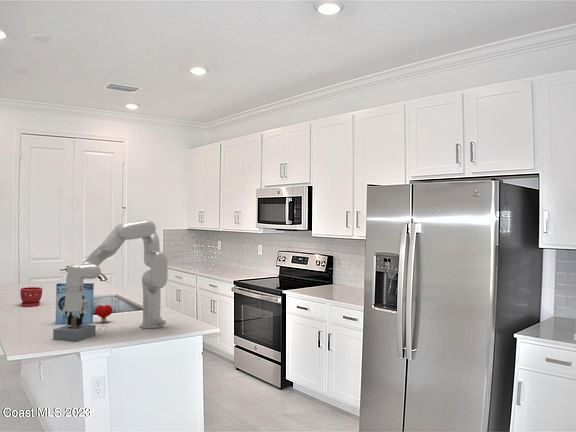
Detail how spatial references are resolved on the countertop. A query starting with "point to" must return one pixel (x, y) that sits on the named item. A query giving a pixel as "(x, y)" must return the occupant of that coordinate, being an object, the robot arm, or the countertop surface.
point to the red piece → (103, 312)
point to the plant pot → (32, 299)
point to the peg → (74, 322)
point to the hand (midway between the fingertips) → (74, 324)
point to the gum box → (62, 317)
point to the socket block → (74, 332)
